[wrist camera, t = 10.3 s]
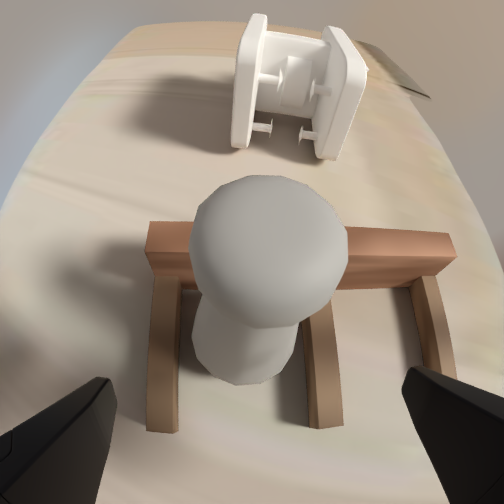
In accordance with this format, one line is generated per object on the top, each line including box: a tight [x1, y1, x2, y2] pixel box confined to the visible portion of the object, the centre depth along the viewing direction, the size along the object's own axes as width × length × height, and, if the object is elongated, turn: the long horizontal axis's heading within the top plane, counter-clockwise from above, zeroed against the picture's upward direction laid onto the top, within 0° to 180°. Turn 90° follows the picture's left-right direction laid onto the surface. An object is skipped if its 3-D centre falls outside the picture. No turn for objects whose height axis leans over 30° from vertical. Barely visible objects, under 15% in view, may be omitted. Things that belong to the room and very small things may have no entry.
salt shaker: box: [188, 175, 348, 385], centre depth 13 cm, size 6×6×13 cm
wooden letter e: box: [145, 221, 457, 434], centre depth 16 cm, size 12×20×5 cm, turn 92°
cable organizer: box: [231, 13, 369, 161], centre depth 25 cm, size 15×11×12 cm
